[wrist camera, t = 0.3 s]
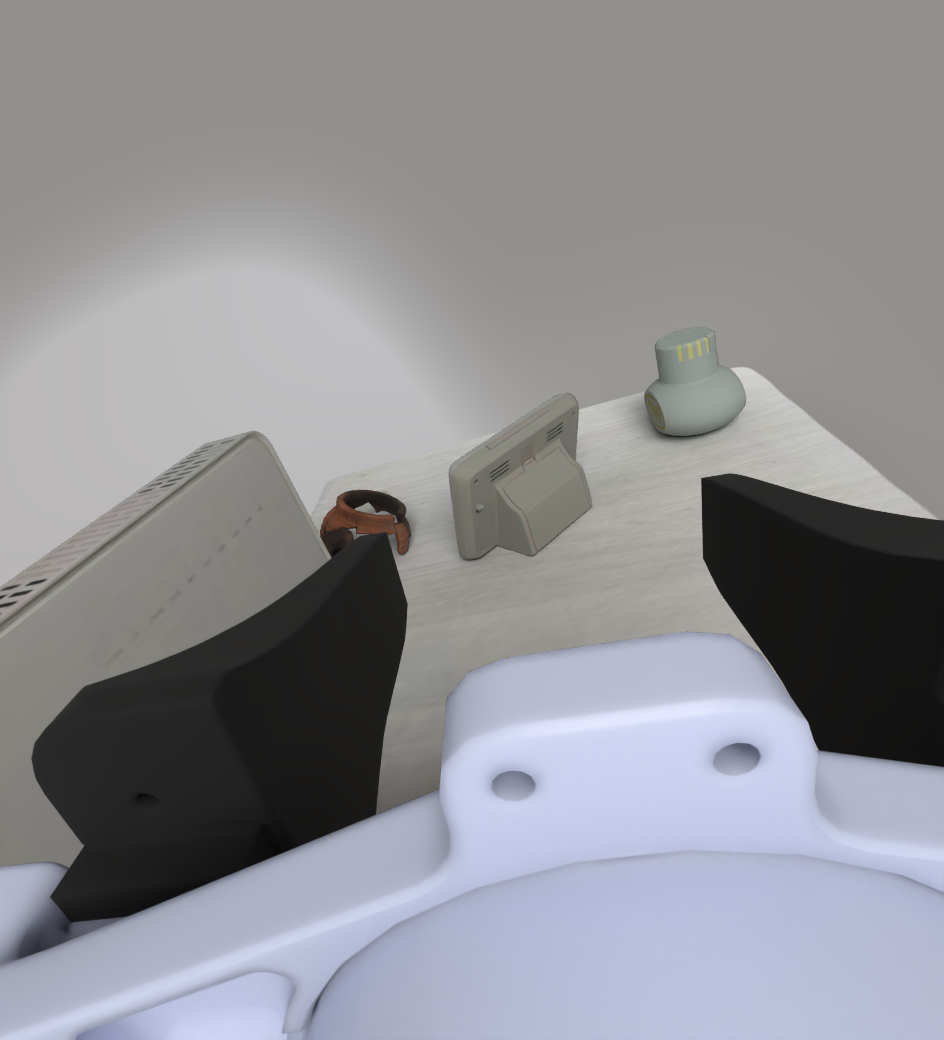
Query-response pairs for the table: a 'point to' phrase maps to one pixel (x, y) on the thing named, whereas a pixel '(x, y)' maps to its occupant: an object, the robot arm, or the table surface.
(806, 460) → the table surface
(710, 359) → the air freshener
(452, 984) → the robot arm
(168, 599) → the network device
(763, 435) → the table surface
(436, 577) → the table surface
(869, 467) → the table surface
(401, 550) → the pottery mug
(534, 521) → the digital clock
